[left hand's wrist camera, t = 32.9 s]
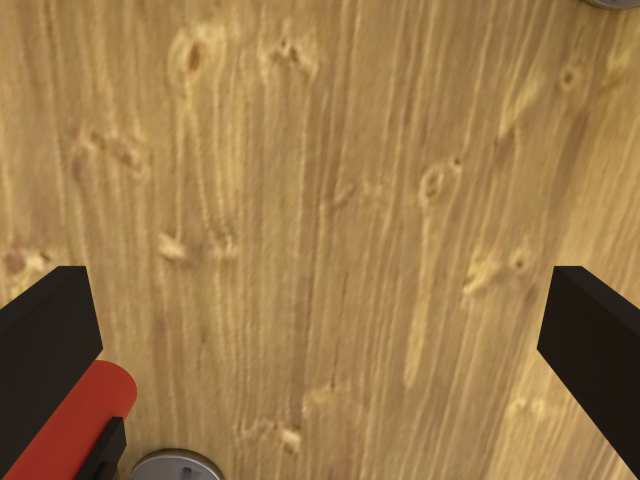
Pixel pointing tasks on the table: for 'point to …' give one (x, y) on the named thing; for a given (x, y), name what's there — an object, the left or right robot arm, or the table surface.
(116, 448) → the right robot arm
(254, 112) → the table surface
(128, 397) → the can
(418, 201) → the table surface
